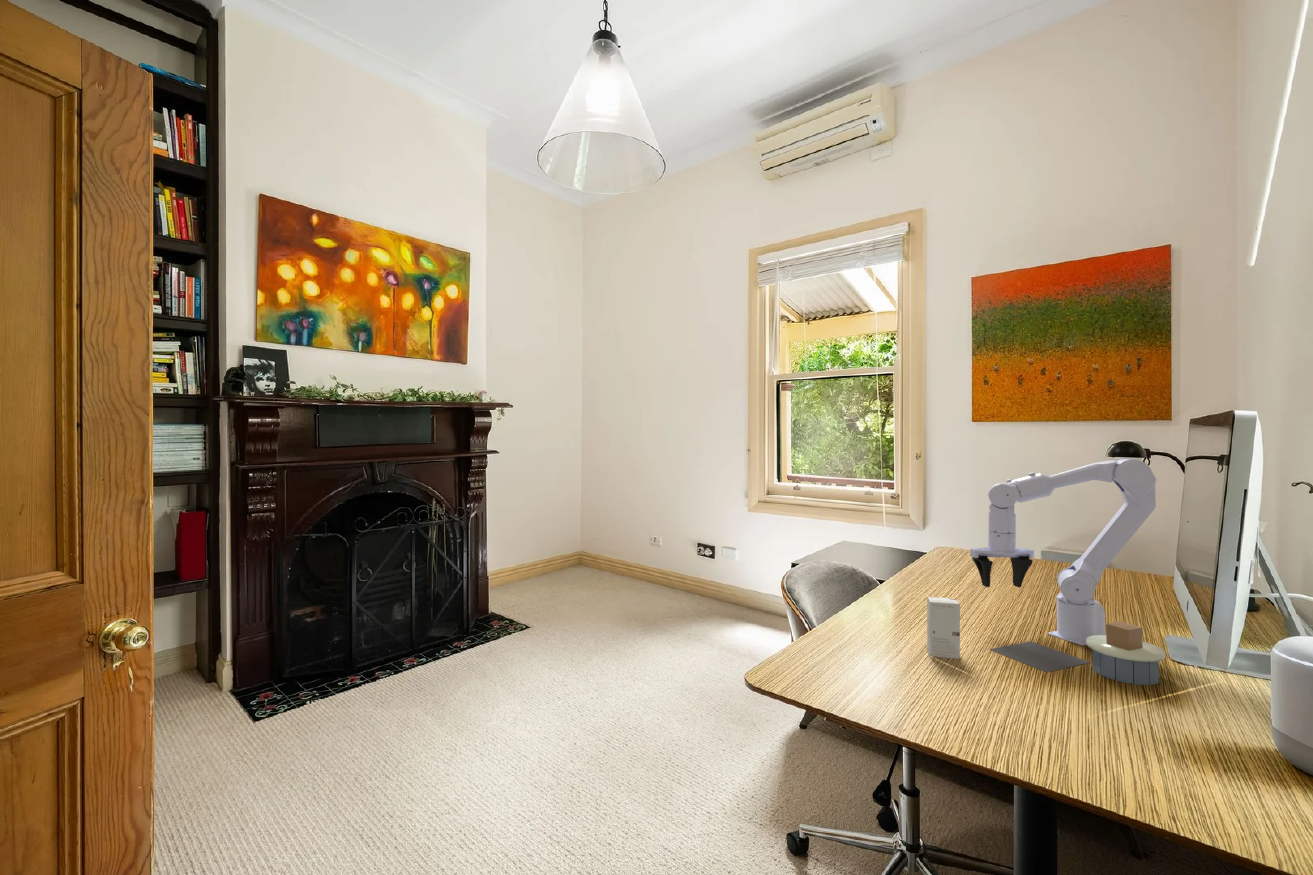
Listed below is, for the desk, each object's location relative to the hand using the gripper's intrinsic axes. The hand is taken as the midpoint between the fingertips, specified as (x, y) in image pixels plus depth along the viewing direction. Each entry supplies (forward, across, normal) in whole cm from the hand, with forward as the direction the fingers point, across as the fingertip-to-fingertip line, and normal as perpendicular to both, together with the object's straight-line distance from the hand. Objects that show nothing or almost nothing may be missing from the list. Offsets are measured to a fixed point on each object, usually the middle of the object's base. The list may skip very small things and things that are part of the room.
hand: (1001, 586), depth 138 cm
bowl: (+10, +8, -27) cm, 30 cm away
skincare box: (+11, -22, -16) cm, 30 cm away
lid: (+5, +8, -27) cm, 29 cm away
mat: (+10, -3, -18) cm, 21 cm away
